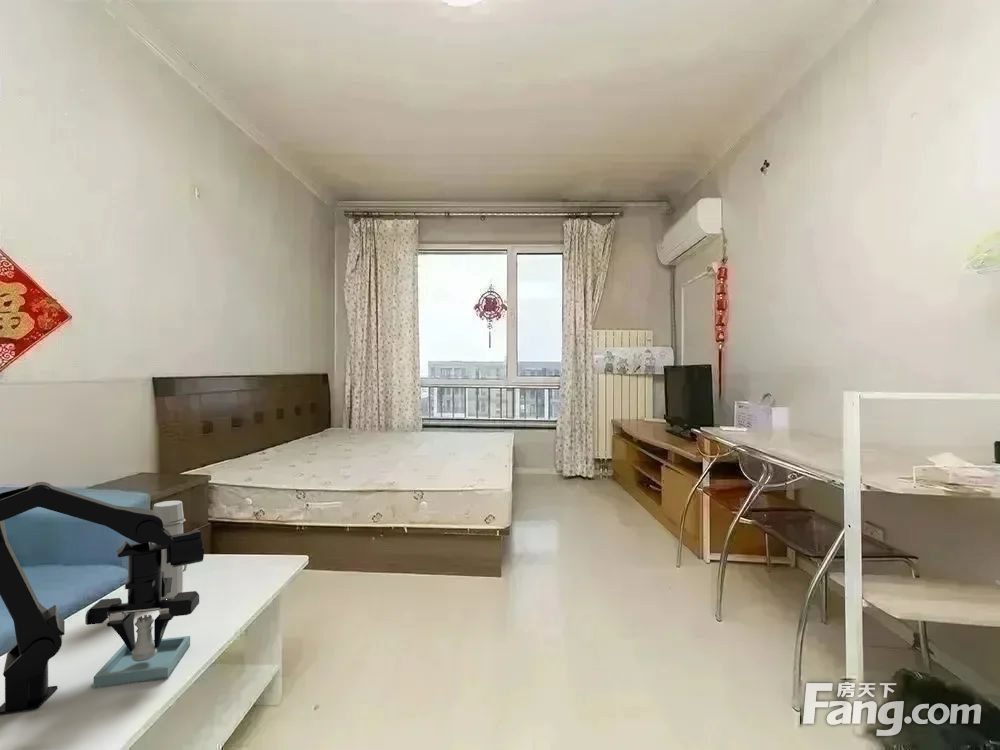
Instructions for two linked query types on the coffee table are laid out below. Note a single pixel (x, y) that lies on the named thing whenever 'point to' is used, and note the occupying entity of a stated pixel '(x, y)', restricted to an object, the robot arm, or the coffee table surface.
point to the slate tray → (142, 664)
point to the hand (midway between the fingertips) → (144, 648)
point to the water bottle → (174, 524)
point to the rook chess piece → (144, 640)
